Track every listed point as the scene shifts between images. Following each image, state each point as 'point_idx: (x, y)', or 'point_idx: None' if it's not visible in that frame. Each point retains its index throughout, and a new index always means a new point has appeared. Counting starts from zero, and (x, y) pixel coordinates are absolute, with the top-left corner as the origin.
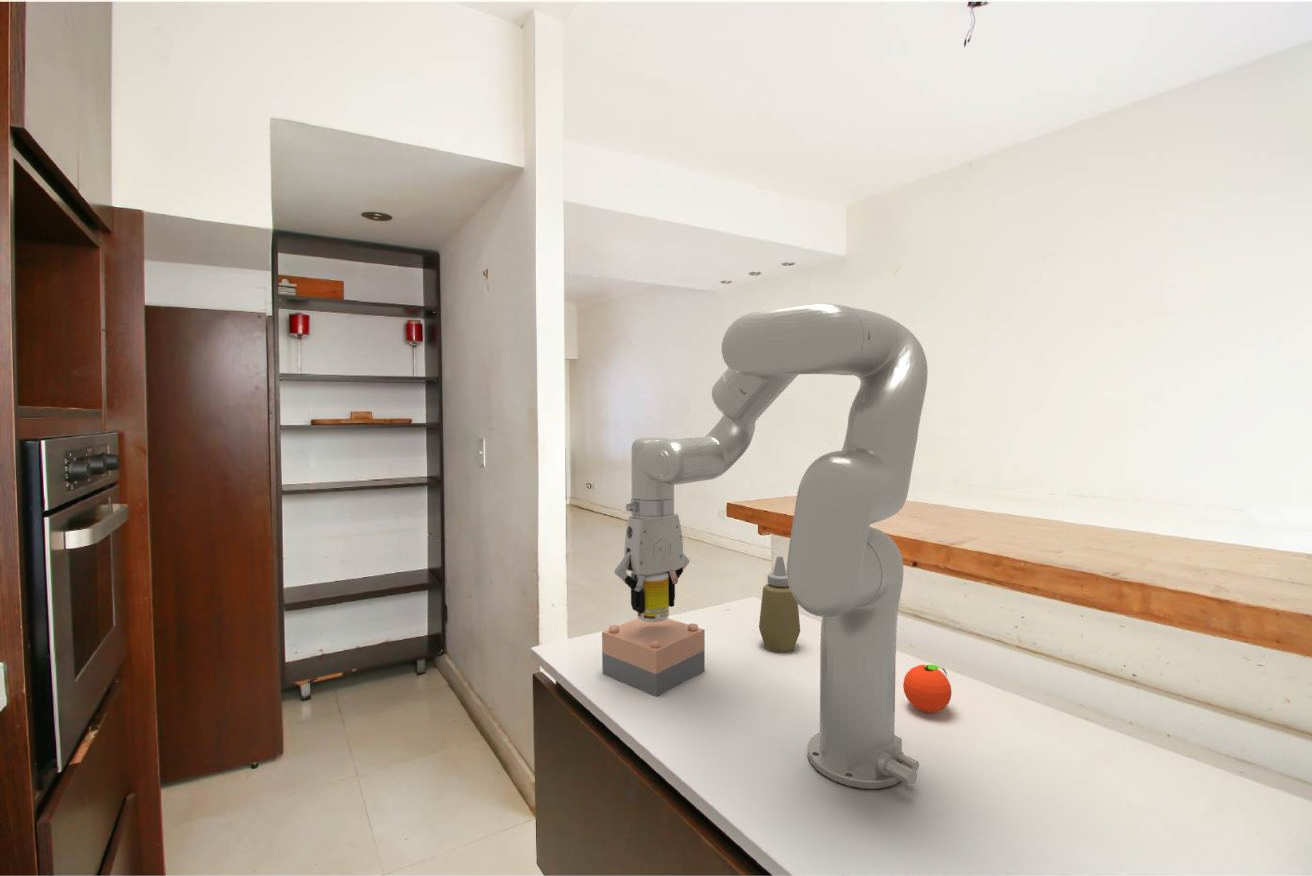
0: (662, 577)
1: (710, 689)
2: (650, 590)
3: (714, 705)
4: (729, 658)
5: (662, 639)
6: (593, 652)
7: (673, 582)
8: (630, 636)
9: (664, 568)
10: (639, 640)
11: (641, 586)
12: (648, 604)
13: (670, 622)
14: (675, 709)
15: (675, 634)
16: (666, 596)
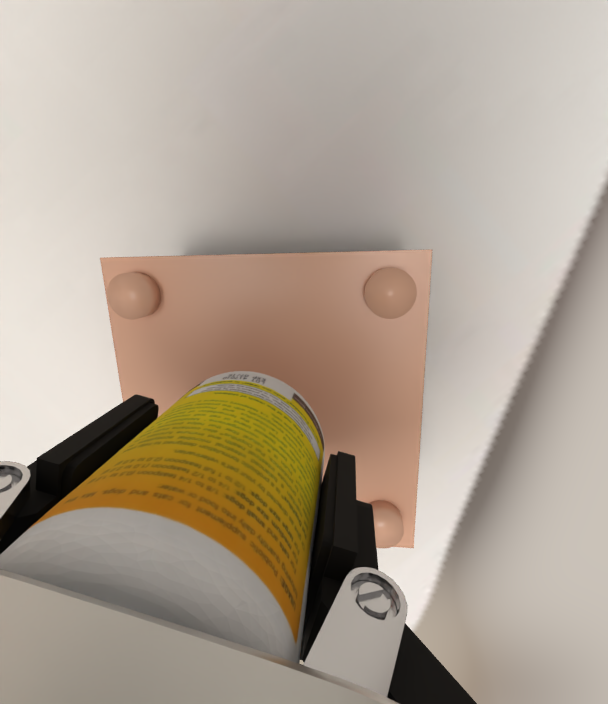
0: (126, 537)
1: (258, 159)
2: (285, 513)
3: (330, 73)
4: (69, 256)
5: (310, 319)
6: None
7: (16, 484)
8: (375, 440)
9: (6, 632)
10: (382, 386)
11: (343, 595)
12: (309, 460)
13: None
14: (428, 150)
15: (230, 315)
16: (175, 421)
